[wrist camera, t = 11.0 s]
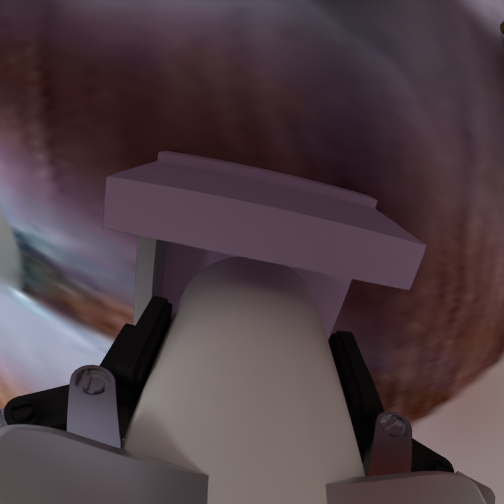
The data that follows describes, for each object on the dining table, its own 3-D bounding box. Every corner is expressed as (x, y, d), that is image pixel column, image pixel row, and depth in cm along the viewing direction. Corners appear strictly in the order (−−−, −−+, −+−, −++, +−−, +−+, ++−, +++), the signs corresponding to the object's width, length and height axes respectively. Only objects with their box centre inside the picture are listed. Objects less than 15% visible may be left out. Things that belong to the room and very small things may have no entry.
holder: (166, 150, 14) (108, 163, 8) (368, 195, 14) (430, 234, 9) (146, 351, 18) (114, 425, 12) (302, 380, 19) (314, 459, 13)
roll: (188, 241, 12) (59, 483, 3) (335, 272, 12) (440, 509, 3) (174, 357, 14) (115, 553, 5) (294, 379, 15) (316, 575, 5)
